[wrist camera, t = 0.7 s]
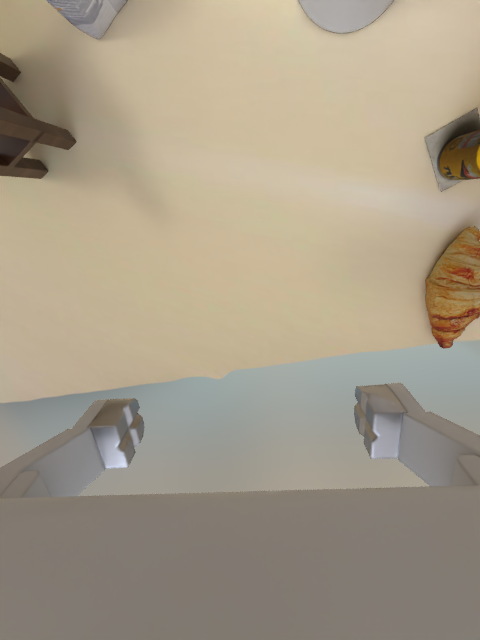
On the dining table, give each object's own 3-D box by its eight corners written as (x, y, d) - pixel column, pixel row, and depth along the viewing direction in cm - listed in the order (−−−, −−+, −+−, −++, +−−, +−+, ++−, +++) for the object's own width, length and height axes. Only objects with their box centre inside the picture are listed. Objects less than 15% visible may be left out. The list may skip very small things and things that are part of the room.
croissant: (434, 225, 52) (434, 229, 45) (510, 223, 47) (522, 228, 40) (415, 335, 59) (413, 352, 53) (478, 344, 54) (484, 364, 48)
